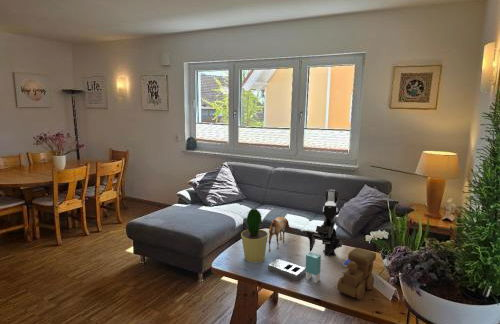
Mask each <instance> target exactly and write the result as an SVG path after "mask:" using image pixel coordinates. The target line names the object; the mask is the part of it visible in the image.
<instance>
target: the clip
mask: <svg viewBox="0 0 500 324" xmlns="http://www.w3.org/2000/svg"><path fill="white" fill-rule="evenodd" d="M321 256H322V254H321V255H320V254H318V253H314V252H312V251H311V252H310V251H309V252H308V253H307V254H305V268H306V273H305V280H306V281H309V280H310V279H312V278H313V283H315V284H317V283H319V281H320V280H321V264H322V263H321V262H322V259H321V258H322V257H321ZM313 275H314V276H313Z"/></svg>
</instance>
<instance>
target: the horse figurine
mask: <svg viewBox="0 0 500 324" xmlns="http://www.w3.org/2000/svg"><path fill="white" fill-rule="evenodd" d="M270 224H271V225H270V226H269V229H268V252H269V253H271V252H272V249H271V242H272V238H273V236H274V235H275V238H276V239H275V240H276V250H279V249H280V248H279V240H280V241H281V240H282V243H283V244H285V242H286V240H285V233H286V232H285V230H287V231H288V233H292V232H293V228H291V227H290V224H289V221H288V219H287V218H286V217H284V216H283V217H282V216H277V217H276V218H274V219H273V220H272V221H271V223H270Z"/></svg>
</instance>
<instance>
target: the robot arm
mask: <svg viewBox="0 0 500 324" xmlns="http://www.w3.org/2000/svg"><path fill="white" fill-rule="evenodd" d="M339 197H340V192H338V191H337V190H336V189H327V190H326V191H325V192H324V199H325V202H324V206H323V207H322V215H323V223H322V224H321V225H316V228H315V231H313V230H306V232H305V236H306V237H307V239H308V240H309V252H311V253H312V251H313V248H314V246H315V243H316V239H318V240H321V242H322V243H321V244H322V245H324V249H323V251H322V252H323V254H324V256H326V257H330V256H333V257H335V256H337V253H336V251H335V250H337V249H339V248H342V247H343V243H344V242H343V241H342V239H341V237H338V235H337V230H336V229H335V224H336V222H337V220H336V216H338V215H339V214H340V213H339V210H340V209H339V208H338V207H337V204H338V201H339ZM315 232H316V233H317V234H316V233H315Z"/></svg>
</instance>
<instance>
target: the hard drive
mask: <svg viewBox="0 0 500 324" xmlns="http://www.w3.org/2000/svg"><path fill="white" fill-rule="evenodd" d="M349 262H350V260H349V259H348V258H347V259H346V260H345V261H344V262H343V263H342V266H343V267H346V268H348V267H347V264H348V263H349Z"/></svg>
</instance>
